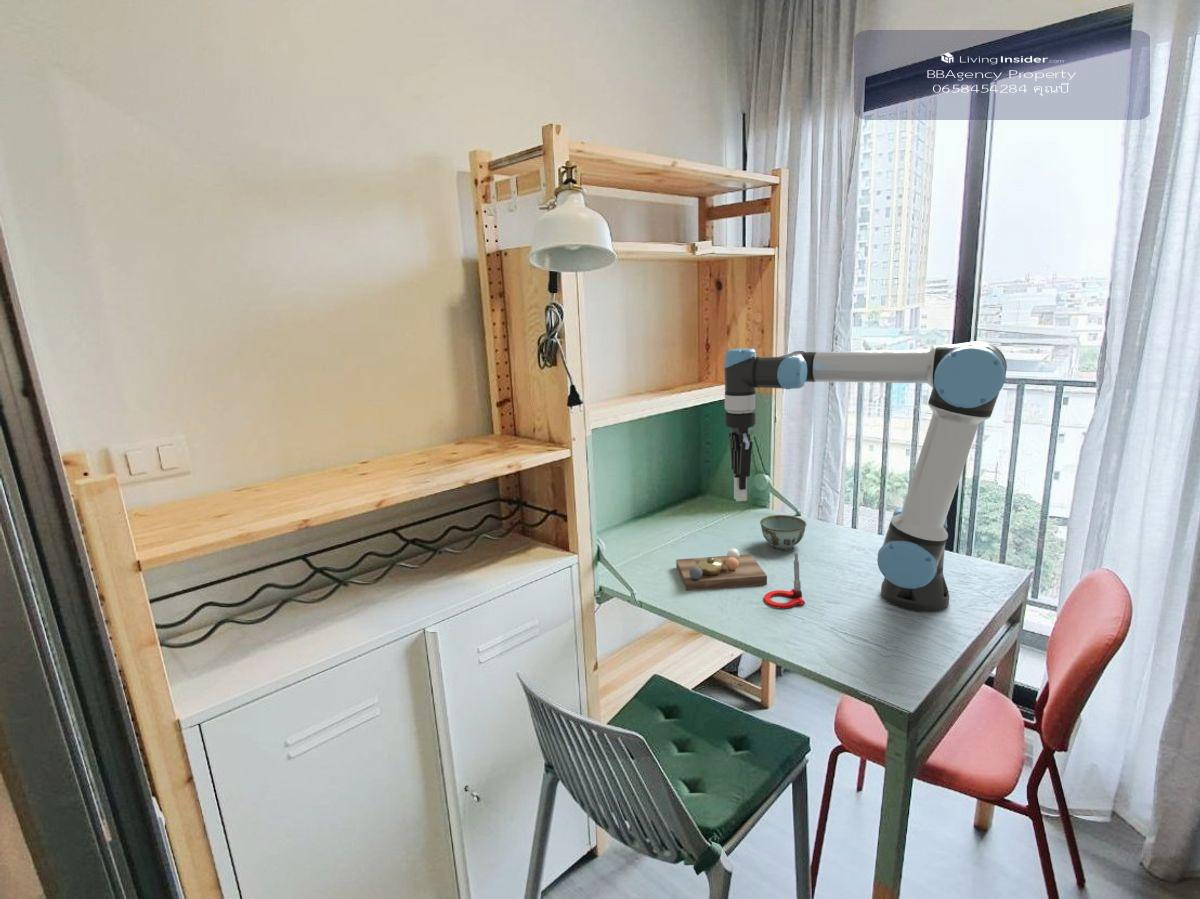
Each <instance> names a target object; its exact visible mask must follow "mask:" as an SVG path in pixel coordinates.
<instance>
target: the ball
mask: <svg viewBox="0 0 1200 899" xmlns="http://www.w3.org/2000/svg"><path fill="white" fill-rule="evenodd" d="M738 565H739V563H738V560H737V559H736V558H734V557H730V558H728V559H727V560H726V567H727V568H728V569H730V570H735V569H737V568H738Z"/></svg>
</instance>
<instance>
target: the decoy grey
mask: <svg viewBox="0 0 1200 899" xmlns="http://www.w3.org/2000/svg"><path fill="white" fill-rule="evenodd" d="M689 574H690V576H691V578H693V579H699V578H701V576H702V570H701V568H700V567H698V566H694V567H692V568H691V569H690V571H689Z"/></svg>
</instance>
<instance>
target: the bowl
mask: <svg viewBox="0 0 1200 899" xmlns="http://www.w3.org/2000/svg"><path fill="white" fill-rule="evenodd" d="M759 521H760V522H759V524H760V526H761V532H762V536H763V537H764V539H765V541H767V542H768V544H770V545H771V546H772V547H773V548H774V549H776V550H780V551H790V550H793V547H794V546H796V545H797V544H799V543H800V542H801V541H802V539H803V537H804V535H805V531H806V527H807V522H806V521H805V520H804V519H803V518H800V517H797V516H792V515H787V514H786V515H785V514H784V515H783V514H778V515H777V514H775V515H769V516H765V517H763V518H762V519H761V520H759Z"/></svg>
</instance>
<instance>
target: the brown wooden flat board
mask: <svg viewBox="0 0 1200 899" xmlns="http://www.w3.org/2000/svg"><path fill="white" fill-rule="evenodd" d="M706 557H707V556H706ZM706 557H692V558H690V557H689V558H679V559H678V558H677V559H676V561H675V563H676V564H675V565H676V569H677V572H678V574H679V576H680V579H681V582H682V584H683V586H684V588H685V591H697V590H708V589H709V590H710V589H711V590H713V589H724V588H737V587H749V586H750V587H751V586H762V585H763V586H764V585H767V584H768V575H767V574H766V572H764V570H763V568H762V567H761V566H760V565H759V564H758V562H757V561H756V559H755V558H754V557H753V555H752V554H751V553H748V554H747V553H745V554H740V556H739V558H738V563H739V565H738V568H737V569H735V570H730V569H728V568H727V567H726V560H727V559H728V556H727V555H719V556H714V557H715V558H719V559H721V560H722V562H723V571H722V573H720V574H717V575H706V574H703V573H702V576H701V578H699V579H693V578H691V576H690V574H689V571H690V569H691V568H692V567H694V566H698V567H699V560H700V559H702V558H706Z"/></svg>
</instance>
